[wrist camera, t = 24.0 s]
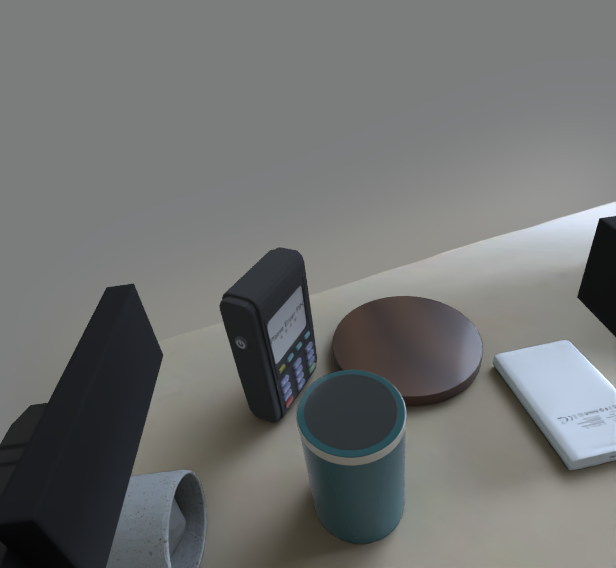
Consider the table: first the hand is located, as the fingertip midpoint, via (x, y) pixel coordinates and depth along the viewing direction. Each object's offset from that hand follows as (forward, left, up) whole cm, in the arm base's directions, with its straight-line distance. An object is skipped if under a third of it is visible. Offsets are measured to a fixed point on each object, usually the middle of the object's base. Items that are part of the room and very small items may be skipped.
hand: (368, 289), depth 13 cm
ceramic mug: (+11, -13, -28) cm, 33 cm away
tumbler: (-5, -8, -28) cm, 30 cm away
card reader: (-6, -22, -28) cm, 36 cm away
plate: (-20, -18, -28) cm, 39 cm away
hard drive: (-26, -3, -28) cm, 38 cm away
